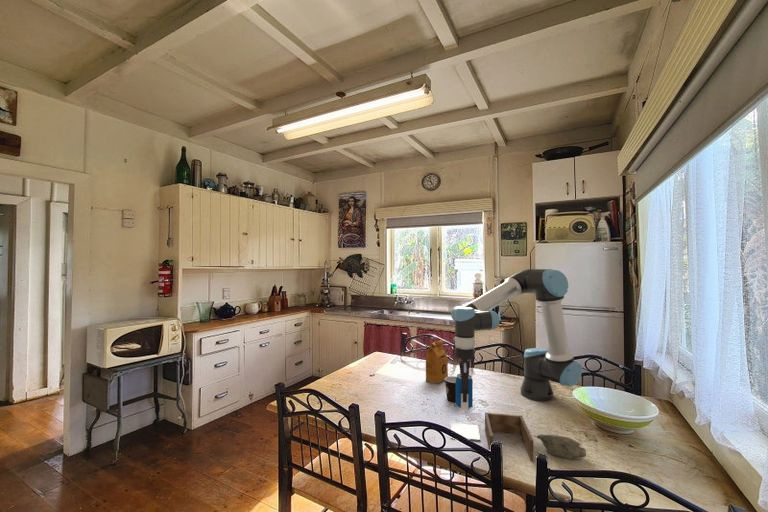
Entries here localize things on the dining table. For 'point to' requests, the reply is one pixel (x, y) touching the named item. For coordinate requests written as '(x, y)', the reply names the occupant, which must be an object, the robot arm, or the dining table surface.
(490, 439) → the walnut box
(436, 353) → the coffee package
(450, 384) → the coffee mug
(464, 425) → the white flat square slab
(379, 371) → the dining table surface
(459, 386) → the beverage can
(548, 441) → the fossil
